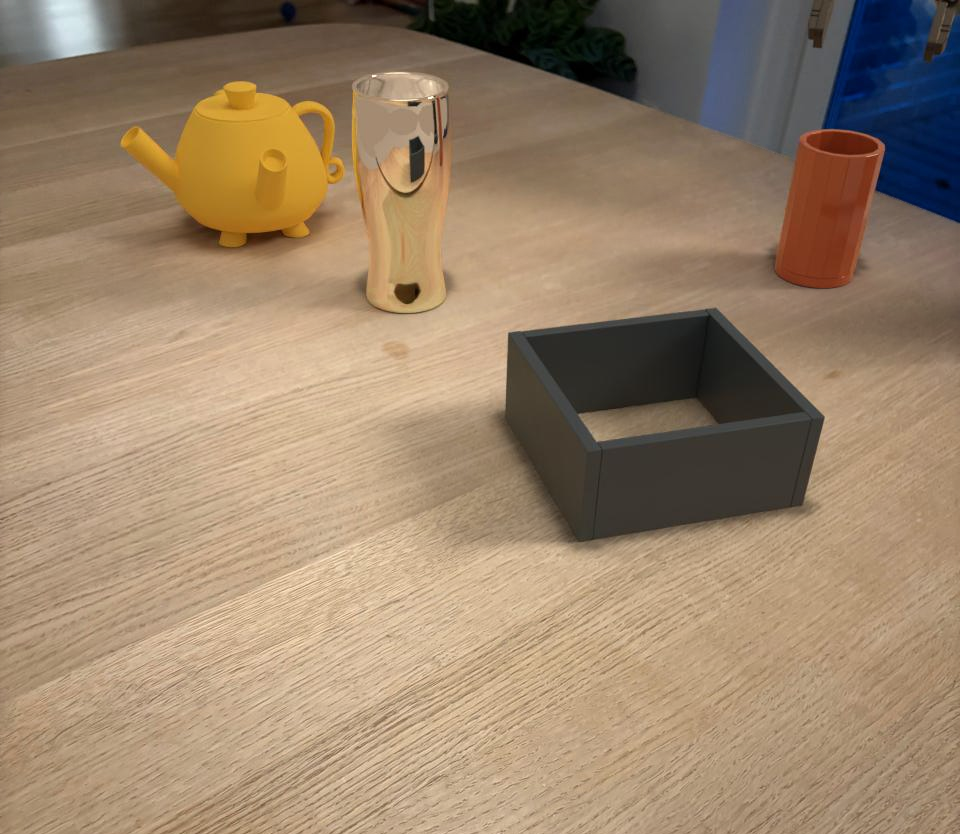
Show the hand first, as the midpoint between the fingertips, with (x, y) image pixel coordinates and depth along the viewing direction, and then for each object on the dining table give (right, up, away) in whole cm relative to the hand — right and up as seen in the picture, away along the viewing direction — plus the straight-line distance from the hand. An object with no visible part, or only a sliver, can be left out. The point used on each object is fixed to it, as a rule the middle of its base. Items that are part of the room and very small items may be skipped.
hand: (872, 49), depth 88 cm
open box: (-21, -36, -20) cm, 46 cm away
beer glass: (-36, -20, -2) cm, 42 cm away
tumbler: (-4, -17, +2) cm, 17 cm away
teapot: (-50, -12, +7) cm, 52 cm away
